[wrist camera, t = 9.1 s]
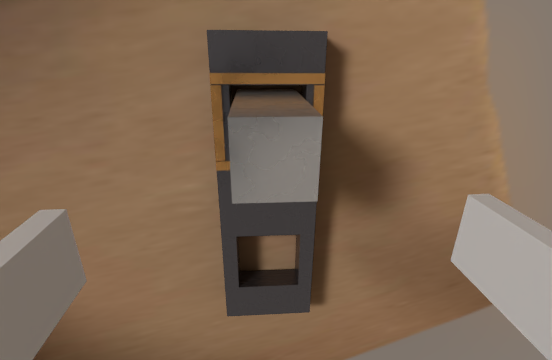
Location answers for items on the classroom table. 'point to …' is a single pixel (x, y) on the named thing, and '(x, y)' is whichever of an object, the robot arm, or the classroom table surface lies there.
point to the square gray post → (274, 147)
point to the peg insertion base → (234, 217)
